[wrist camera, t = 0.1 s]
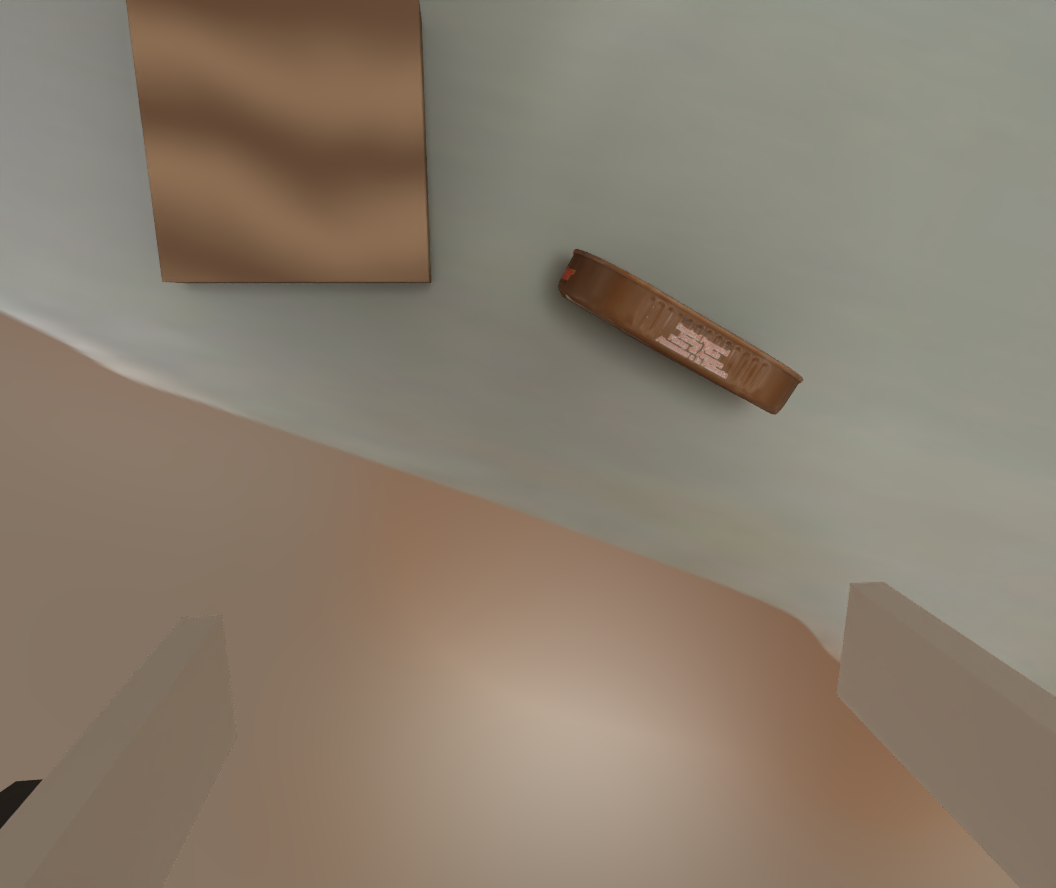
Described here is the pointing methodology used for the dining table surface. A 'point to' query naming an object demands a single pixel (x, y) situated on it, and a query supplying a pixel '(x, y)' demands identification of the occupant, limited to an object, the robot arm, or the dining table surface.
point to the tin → (677, 331)
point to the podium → (284, 139)
